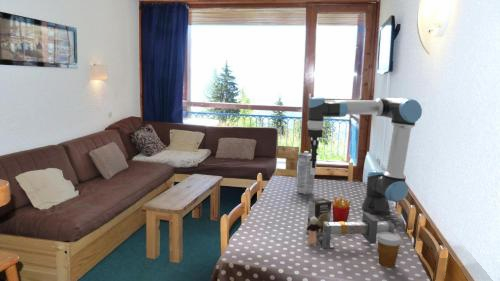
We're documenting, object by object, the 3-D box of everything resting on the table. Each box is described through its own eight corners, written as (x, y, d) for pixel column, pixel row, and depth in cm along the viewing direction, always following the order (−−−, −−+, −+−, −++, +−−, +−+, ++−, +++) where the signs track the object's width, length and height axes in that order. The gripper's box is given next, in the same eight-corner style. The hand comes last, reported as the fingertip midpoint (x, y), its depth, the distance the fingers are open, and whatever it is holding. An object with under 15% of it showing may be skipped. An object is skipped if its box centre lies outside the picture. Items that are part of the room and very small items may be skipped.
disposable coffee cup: (370, 259, 165) (373, 231, 163) (392, 258, 166) (395, 231, 164) (380, 270, 156) (382, 241, 154) (403, 269, 157) (406, 241, 155)
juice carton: (313, 195, 252) (316, 153, 248) (297, 194, 252) (299, 152, 248) (311, 191, 261) (314, 150, 257) (295, 190, 261) (297, 150, 257)
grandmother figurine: (308, 246, 175) (310, 219, 173) (303, 243, 178) (304, 216, 176) (322, 243, 179) (323, 216, 177) (316, 240, 182) (318, 214, 180)
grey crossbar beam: (389, 240, 185) (391, 219, 183) (397, 247, 177) (399, 226, 175) (317, 241, 181) (319, 220, 179) (323, 249, 173) (324, 227, 171)
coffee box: (314, 237, 186) (316, 203, 183) (306, 232, 192) (308, 199, 189) (329, 234, 190) (332, 201, 188) (321, 229, 196) (323, 197, 193)
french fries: (337, 221, 207) (339, 193, 205) (351, 225, 202) (354, 197, 199) (328, 225, 201) (330, 196, 199) (342, 230, 195) (344, 200, 193)
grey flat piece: (366, 234, 184) (368, 212, 183) (375, 243, 174) (377, 220, 172) (361, 234, 184) (362, 212, 182) (370, 243, 174) (372, 220, 172)
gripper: (307, 125, 209) (306, 164, 212) (307, 132, 184) (304, 176, 188) (322, 126, 207) (320, 165, 211) (323, 132, 183) (321, 177, 187)
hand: (313, 170), depth 199 cm, fingers open, 13 cm apart
